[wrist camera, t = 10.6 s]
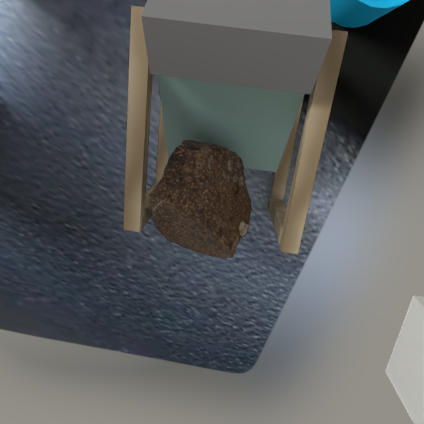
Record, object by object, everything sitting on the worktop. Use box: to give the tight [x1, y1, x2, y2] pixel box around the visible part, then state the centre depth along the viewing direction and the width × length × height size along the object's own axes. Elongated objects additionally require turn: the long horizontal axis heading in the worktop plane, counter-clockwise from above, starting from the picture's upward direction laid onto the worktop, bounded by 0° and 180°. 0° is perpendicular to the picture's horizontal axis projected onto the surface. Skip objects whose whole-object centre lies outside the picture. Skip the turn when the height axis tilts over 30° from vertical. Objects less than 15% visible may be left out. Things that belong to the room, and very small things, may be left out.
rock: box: [148, 140, 252, 258], centre depth 31 cm, size 12×10×10 cm
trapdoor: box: [141, 0, 332, 172], centre depth 29 cm, size 12×17×4 cm
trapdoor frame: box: [123, 6, 348, 254], centre depth 34 cm, size 16×18×13 cm
